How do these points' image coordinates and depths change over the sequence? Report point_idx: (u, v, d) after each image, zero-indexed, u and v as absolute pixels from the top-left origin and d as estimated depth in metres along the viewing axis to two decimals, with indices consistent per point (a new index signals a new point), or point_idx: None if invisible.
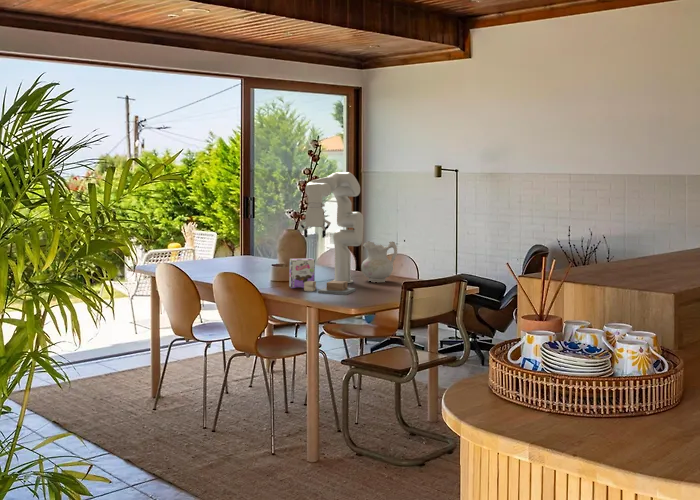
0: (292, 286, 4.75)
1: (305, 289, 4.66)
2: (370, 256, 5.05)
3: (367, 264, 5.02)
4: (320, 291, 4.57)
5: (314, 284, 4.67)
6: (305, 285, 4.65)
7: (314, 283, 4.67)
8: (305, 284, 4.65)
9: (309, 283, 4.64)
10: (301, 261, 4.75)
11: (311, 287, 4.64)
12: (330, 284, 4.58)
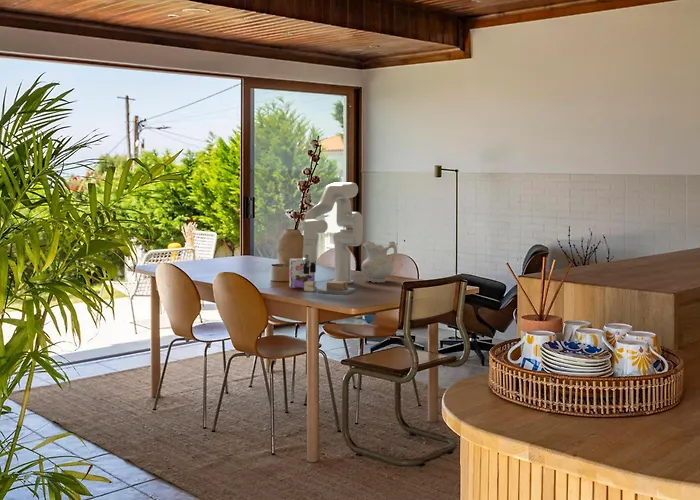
0: (292, 286, 4.75)
1: (305, 289, 4.66)
2: (370, 256, 5.05)
3: (367, 264, 5.02)
4: (320, 291, 4.57)
5: (314, 284, 4.67)
6: (305, 285, 4.65)
7: (314, 283, 4.67)
8: (305, 284, 4.65)
9: (309, 283, 4.64)
10: (301, 261, 4.75)
11: (311, 287, 4.64)
12: (330, 284, 4.58)
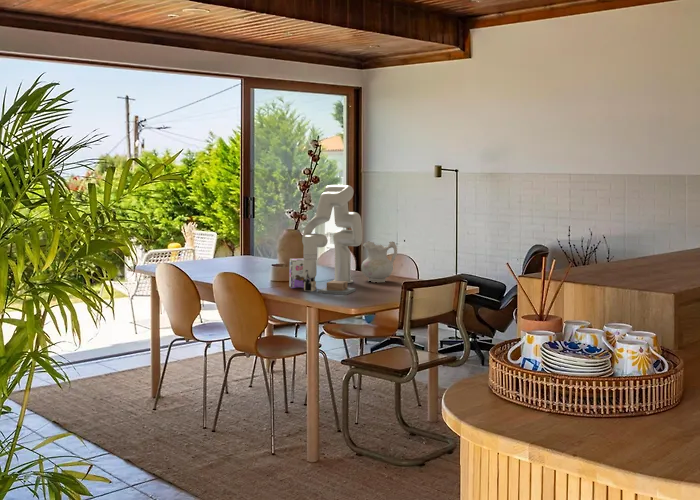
0: (292, 286, 4.75)
1: None
2: (370, 256, 5.05)
3: (367, 264, 5.02)
4: (320, 291, 4.57)
5: (314, 284, 4.67)
6: None
7: (314, 283, 4.67)
8: None
9: None
10: (301, 261, 4.75)
11: (311, 287, 4.64)
12: (330, 284, 4.58)
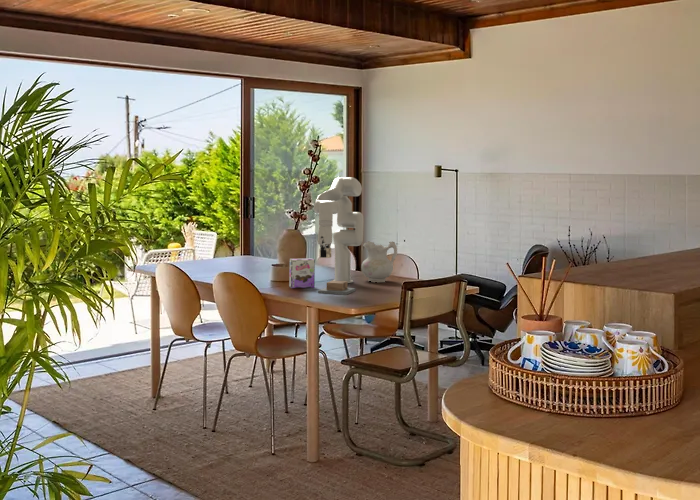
0: (292, 286, 4.75)
1: (320, 256, 4.61)
2: (370, 256, 5.05)
3: (367, 264, 5.02)
4: (320, 291, 4.57)
5: (329, 251, 4.62)
6: (320, 252, 4.61)
7: (329, 250, 4.62)
8: (320, 251, 4.61)
9: None
10: (301, 261, 4.75)
11: (326, 254, 4.60)
12: (330, 284, 4.58)
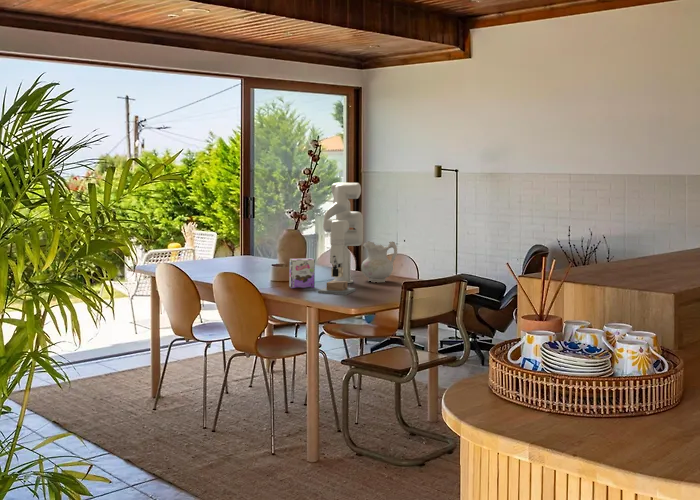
0: (292, 286, 4.75)
1: (332, 275, 4.60)
2: (370, 256, 5.05)
3: (367, 264, 5.02)
4: (320, 291, 4.57)
5: (341, 270, 4.61)
6: (332, 271, 4.59)
7: (341, 269, 4.61)
8: (332, 270, 4.59)
9: None
10: (301, 261, 4.75)
11: (338, 273, 4.58)
12: (330, 284, 4.58)
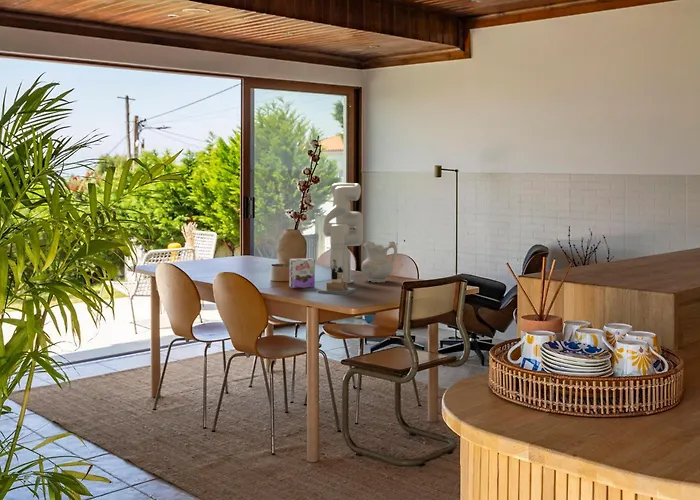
0: (292, 286, 4.75)
1: (332, 280, 4.60)
2: (370, 256, 5.05)
3: (367, 264, 5.02)
4: (320, 291, 4.57)
5: (341, 275, 4.61)
6: None
7: (341, 274, 4.61)
8: None
9: None
10: (301, 261, 4.75)
11: (338, 279, 4.59)
12: (330, 284, 4.58)
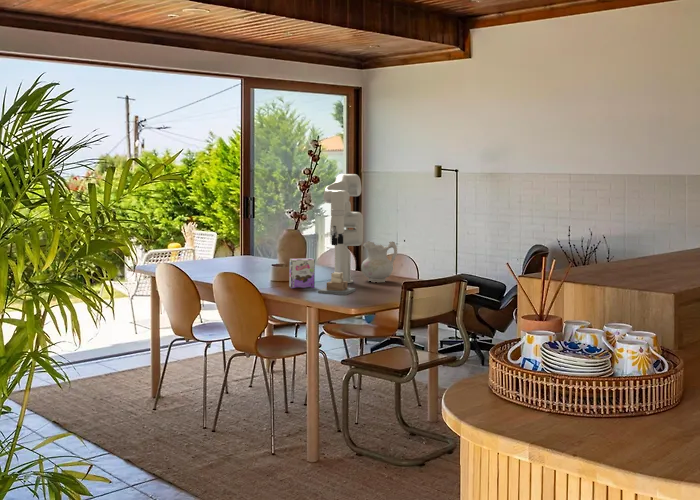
0: (292, 286, 4.75)
1: (332, 280, 4.60)
2: (370, 256, 5.05)
3: (367, 264, 5.02)
4: (320, 291, 4.57)
5: (341, 275, 4.61)
6: (332, 276, 4.60)
7: (341, 274, 4.61)
8: (332, 275, 4.60)
9: (336, 274, 4.59)
10: (301, 261, 4.75)
11: (338, 279, 4.59)
12: (330, 284, 4.58)
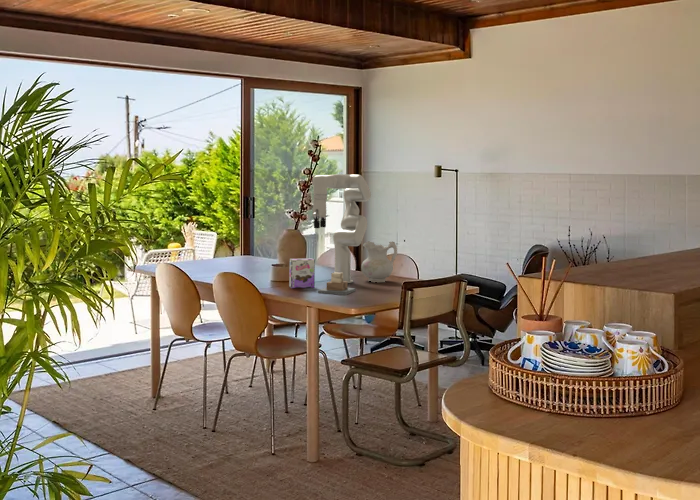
0: (292, 286, 4.75)
1: (332, 280, 4.60)
2: (370, 256, 5.05)
3: (367, 264, 5.02)
4: (320, 291, 4.57)
5: (341, 275, 4.61)
6: (332, 276, 4.60)
7: (341, 274, 4.61)
8: (332, 275, 4.60)
9: (336, 274, 4.59)
10: (301, 261, 4.75)
11: (338, 279, 4.59)
12: (330, 284, 4.58)
